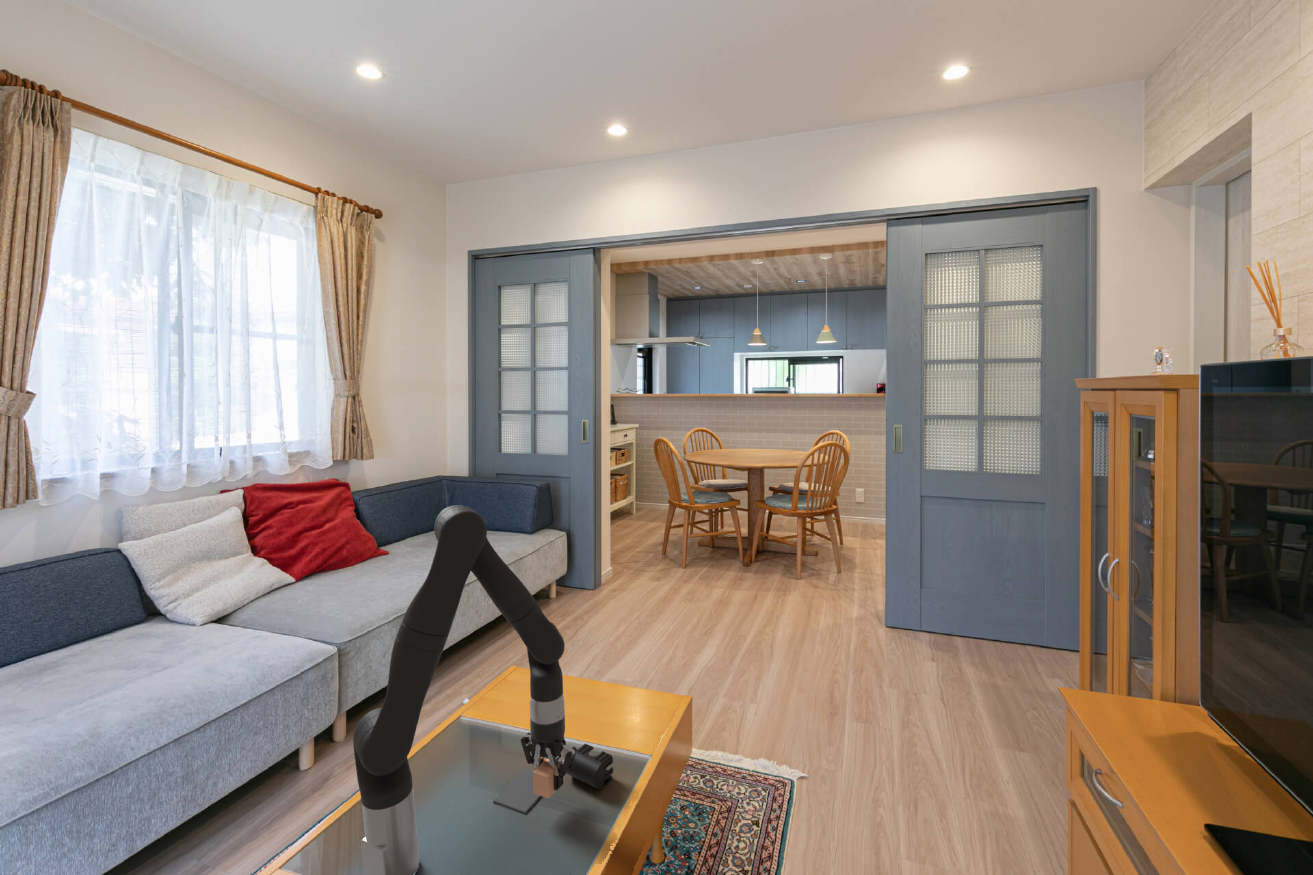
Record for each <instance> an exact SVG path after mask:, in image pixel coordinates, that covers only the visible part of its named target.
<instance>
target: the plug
mask: <svg viewBox="0 0 1313 875" xmlns="http://www.w3.org/2000/svg"><path fill="white" fill-rule="evenodd" d="M564 760H565V759H563V763H564ZM558 767H559V766H558ZM555 792H557V790H554V771H553V767H552V766H550V762H549V759H548V758H545V760H544V762H542V763H541V764H540V765H539V766H538V767H537V768H536V769H535V768H534V770H533V793H534V794H537V795H540V796H541V797H543V798H546V799H549V798H550V797H552V796H553V794H554V793H555Z"/></svg>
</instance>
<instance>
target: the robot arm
mask: <svg viewBox="0 0 1313 875" xmlns="http://www.w3.org/2000/svg"><path fill="white" fill-rule="evenodd" d="M434 521H435V522H434V525H433V526H434V527H433V530H434V535H435V538H436V540H437V545H436V548H435V553H434V556H433V560H432V563H431V566H430V569H429V571H428V572H429V573H427V576H426V578H425V580H424V581H423V583H422V585H421V587H420V588H419V589H418V590H417V592H416V594H415V595H414V597H413V599H412V600H411V602H410V604H409V605H408V607H407V609H406V611H405V613H404V615H403V617H402V619H401V622H400V625H399V628H398V630H397V633H396V637H395V638H394V642H393V647H392V650H391V654H390V662H389V670H388V680H387V688H386V694H385V697H384V701H383V704H382V707H378V708H374V709H372V710H369V712H367V713H366V714H364V715H363V716H362V717H361V719H360V720H359V721H358V723H357V724H356V726H355V729H354V732H353V735H352V736H353V737H352V738H353V739H352V745H353V753H354V762H355V769H356V777H357V783H358V788H359V793H360V801H361V808H362V820H363V828H364V829H363V830H364V836H363V838H361V840H360V847H361V856H362V858H361V859H362V867H363V875H413V874H414V873H415V872H417V873H418V871H419V869H418V868H420V865H419V863H420V853H419V843H418V832H417V830H418V829H417V821H416V820H417V817H416V807H415V798H414V796H415V795H414V786H413V776H412V771H411V767H410V763H409V759H408V756H409V754H410V752H411V750H412V747H413V742H414V739H415V737H416V731H417V726H418V724H419V719H420V716H421V712H422V708H423V704H424V701H425V699H426V696H427V693H428V691H429V688H430V686H431V683H432V680H433V678H434V674H435V672H436V669H437V667H438V663H439V662H440V659H441V656H442V653H443V651H444V648H445V646H446V643H447V641H448V637H449V635H450V632H451V629H452V626H453V622H454V620H455V617H456V614H457V611H458V608H459V604H460V601H461V598H462V596H463V591H464V589H465V586H466V582H467V581H468V578H469V575H470V573H472V574H473V576H474V577H475V578H476V580H477V581H478V582H479V584H480V585H481V587H483V589H484V591H485V593H486V594H487V595H488V597H489V598H490V599H491V602H492V603H493V604H494V606H495V607H496V609H497V610H498V611H499V612H500V614H502V616H503V617H504V618H505V620H506V621H507V622H508V623H509V625H510V626H511V627H512V628H513V630H515V632H516V633H517V634H518V636H519V637H520V639H521V641H522V642H523V644H524V645H525V647H526V650H527V651H526V653H527V658H528V660H527V661H528V664H529V673H530V674H529V675H530V676H529V677H530V678H529V687H530V688H529V689H530V691H529V692H530V699H529V721H530V722H529V728H530V732H527V733H526V734H524V736H522V737H521V739H520V744H521V746H522V750H523V753H524V757H525V760H526V764H528V765H533V768H534V770H535V769H536V768H537V767H538V766H539V765H540V764H541V763H542V762H544V761H545V760H546V759H547V758H548V759H549V762H550V766H552V767H553V771H554V790H556V791H558V790H559V789H560V788H561V787H563V785H564V777H565V776H566V773H567V772H568V771H569V770H570V769H571V768H572V764H573V761H574V758H575V755H576V752H577V750H578V748H576V746H573V747H570V746H568V745H567V742H566V740H565V733H566V718H565V717H566V714H565V713H566V712H565V709H566V706H565V705H566V704H565V696H564V679H563V672H562V668H561V666H560V661H559V660H560V659H561V658H562V656H563V655H564V652H565V646H566V644H565V641H564V638H563V636H562V634H561V633H560V631H559V629H558V627H557V626H556V625H555V624H554V623H553V622H552V621H550V620H549V619H548V618H547V616H545V614H544V612H543V611H542V609H541V607H540V605H539V603H538V602H537V601H536V599H535V598H534V596H533V594H531V592H530V591H529V590H528V588H527V587H526V586H525V584H524V583H523V582H522V581H521V579H520V578H519V577H518V576H517V575H516V574H515V573H514V572H513V571H512V569H511V568H510V567H509V566H508V565H507V564H506V562H505V561H504V560H503V559H502V558H501V557H500V556H499V554H498V553H497V552H496V550H495V549H494V547H493V546H492V544H491V543H490V541H489V540H488V538H487V535H488V534H487V533H488V529H487V527H488V526H487V524H486V522H485V519H484V518H483V517H482V515H480V514H479V513H478V512H477V511H475V509H473V508H471V507H470V506H467V505H463V504H456V505H454V504H453V505H451V506H447V507H445V508H443V509H442V510H441V511H440V512H439V513H438V514H437V516H436V518H435V520H434ZM563 760H564V763H563ZM558 766H559V767H558ZM417 870H418V871H417Z"/></svg>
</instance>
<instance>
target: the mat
mask: <svg viewBox="0 0 1313 875" xmlns="http://www.w3.org/2000/svg"><path fill="white" fill-rule="evenodd" d="M533 771H534V770H533V769H530V768H528V767H525V768H523V769H522V770H521V772H520V773H518V775H516V777H515V778H514V779H513V780H512V781H510V783H509V784H507V786H506V787H505V788H504V789H502V791H501V792H500V793H499V794H498V795H497V796H496V797H495V798H494V799H492V802H493V803H495V804H498V805H500V806H502V807H505V808H508V809H510V810H513V811H516V812H519V813H522V814H524V815H526V814H527V813H528V812H529V810H531V808H532V807H533V806H534V805H535V804H536V803H537V802H538V801H539V799H540V798H541V797H542V796H540V795H537V794H534V793H533Z"/></svg>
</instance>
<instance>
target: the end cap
mask: <svg viewBox="0 0 1313 875" xmlns="http://www.w3.org/2000/svg"><path fill="white" fill-rule="evenodd" d="M593 750H594V746H592V745H590V744H587V743H584V744H583V745H581V746H580V747H579V748H577V752H576V755H575V758H574V761H573V764H572V768H571V769H570V770H569V771H568V772H567V773H566V774H567V775H568V776H570V777H573V779H574V778H575V779H576V780H578V781H581V782H583V783H584V784H587V785H588V786H591V787H592V788H594V789H596V790H599V791H600V790H603V789H604V788H605V787H606V786H608V784H610V783H611V782H612V781H613V776H612V774H614V767H613V766H611V765H612V764H613V763H614V759H613V758H614V757H613V755H612V754H609V752H606V751H602V750H601V752H600V753H598V754H597V755H595V756H594V755H590V753H591V752H592V751H593ZM610 766H611V767H610ZM609 767H610V768H609ZM607 768H608V769H607ZM610 781H611V782H610ZM609 782H610V783H609Z"/></svg>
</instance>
